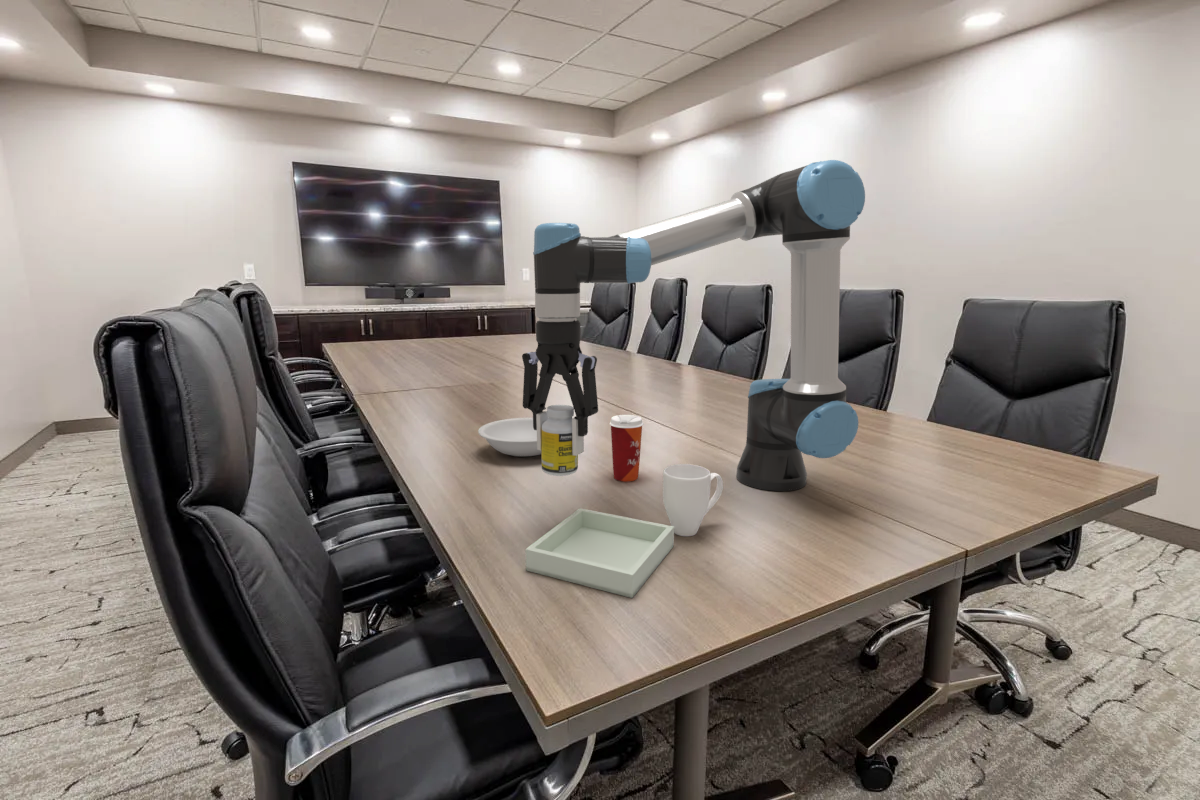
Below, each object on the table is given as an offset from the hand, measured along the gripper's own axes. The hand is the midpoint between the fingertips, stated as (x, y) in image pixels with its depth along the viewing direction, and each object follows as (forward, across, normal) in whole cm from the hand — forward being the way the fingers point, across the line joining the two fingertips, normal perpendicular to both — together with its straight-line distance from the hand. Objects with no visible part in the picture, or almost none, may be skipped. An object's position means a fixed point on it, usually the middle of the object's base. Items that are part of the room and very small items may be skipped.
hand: (560, 450), depth 102 cm
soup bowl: (+15, +32, -36) cm, 50 cm away
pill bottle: (+4, 0, 0) cm, 4 cm away
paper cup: (+15, +1, -30) cm, 34 cm away
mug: (+15, -21, -11) cm, 28 cm away
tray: (+15, -12, +6) cm, 20 cm away
